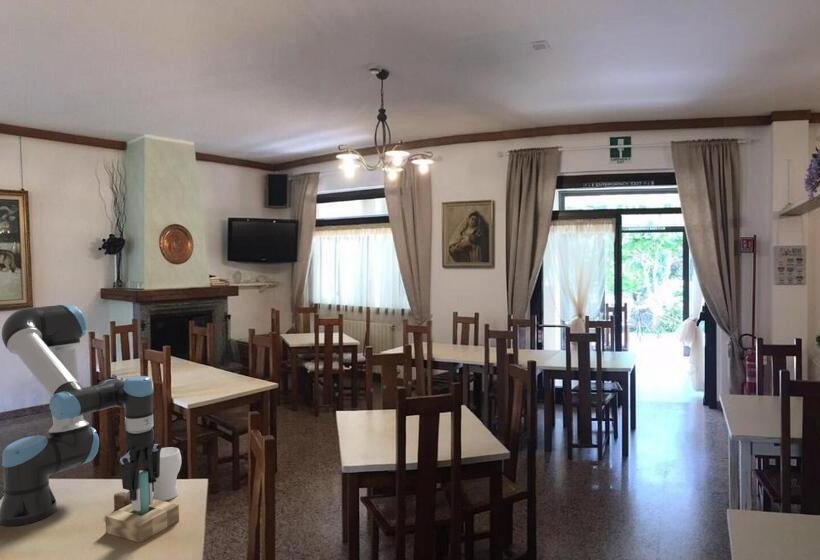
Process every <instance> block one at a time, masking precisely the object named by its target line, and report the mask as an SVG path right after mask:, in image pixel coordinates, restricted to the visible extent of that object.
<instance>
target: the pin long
mask: <svg viewBox="0 0 820 560" xmlns="http://www.w3.org/2000/svg"><path fill="white" fill-rule="evenodd" d="M137 488H140V503H141V510H140V511H136V514H137V515H141V516H142V515H144V514H146V513H148V512H149V487H148V471H146V470H144V469H142V470H139V479H138V487H137Z"/></svg>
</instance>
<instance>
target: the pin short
mask: <svg viewBox="0 0 820 560" xmlns="http://www.w3.org/2000/svg"><path fill="white" fill-rule="evenodd" d="M113 505H114V506H113V507H114V511H113V512H115V511H117V510H119V509H121V508H123V507H125V506H127V505H128V503H127V492H126V491H120V492H117V493H115V494H114V495H113Z"/></svg>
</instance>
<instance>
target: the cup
mask: <svg viewBox="0 0 820 560" xmlns="http://www.w3.org/2000/svg"><path fill="white" fill-rule="evenodd" d="M181 468H182V455H181V451H180V449H179V448H178V447H173V446H171V447H169V446H168V447H161V451H160V476H159V477H158V478H156V479H157V480H156V482H155V483H154V491H153V492H152V496H153V499H157V500H161V501H165V502H166V501H169V500H172V499H174V498H176V497H177V496H178V495H179V493H178V487H177V477H178V474H179V472H180V470H181Z"/></svg>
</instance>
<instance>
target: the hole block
mask: <svg viewBox="0 0 820 560" xmlns="http://www.w3.org/2000/svg"><path fill="white" fill-rule="evenodd" d="M179 508H180V507H179V504H177V503H173V502H168V501H166V500H165V501H161V500H157V499H153V504H152V505H149V512H148V513H146V514H144V515H142V516H141V515H137V514H136V510H132V504H130V505H128V504H127V506H125V507H123V508H121V509H119V510H117V511H113V512H111V513H108V514H107V515H105V518H104V519H105V520H104V521H105V533H106V534H109V535H112V536H116V537H119V538H123V539H126V540H129V541H134V542H135V543H143V541H145V540H148V539H149V538H151V537H153V536H154V535H156V534H158V533H159V532H161V531H163V530H166V529H167V528H169V527H171V526H173V525H174V524H176V523H177V522H179V521H180V512H179V510H180V509H179Z"/></svg>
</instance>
